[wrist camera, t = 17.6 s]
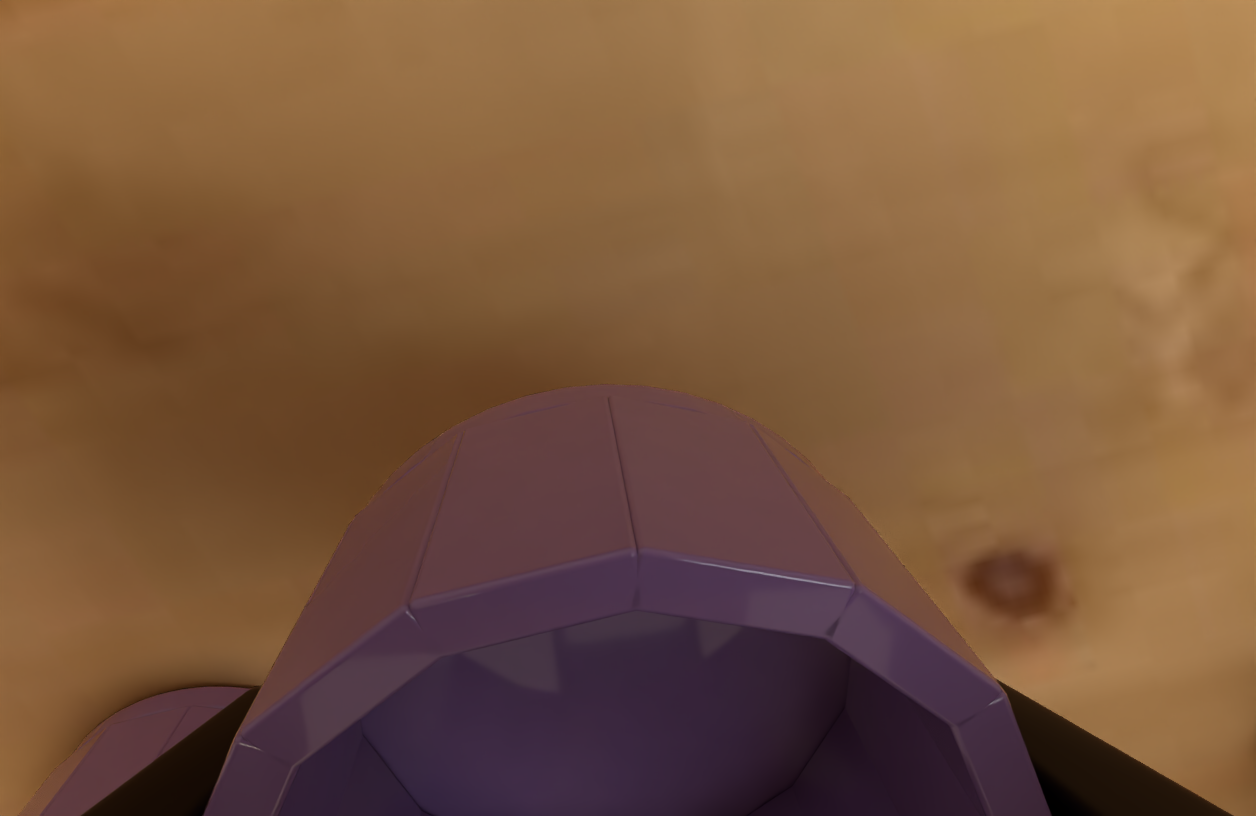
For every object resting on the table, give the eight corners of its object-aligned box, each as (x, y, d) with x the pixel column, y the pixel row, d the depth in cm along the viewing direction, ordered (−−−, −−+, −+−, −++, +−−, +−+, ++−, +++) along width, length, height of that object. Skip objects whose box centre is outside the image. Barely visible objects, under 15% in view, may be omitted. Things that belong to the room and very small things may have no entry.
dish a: (898, 369, 8) (1135, 531, 5) (842, 831, 10) (979, 1165, 7) (289, 383, 8) (85, 572, 4) (361, 864, 10) (258, 1242, 7)
